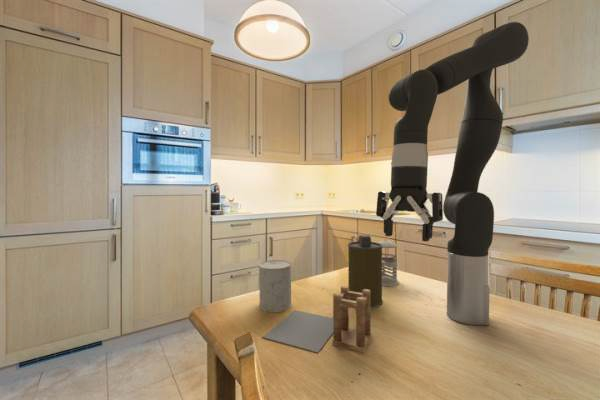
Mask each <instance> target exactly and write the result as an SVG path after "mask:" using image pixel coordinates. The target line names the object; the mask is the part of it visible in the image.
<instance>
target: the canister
mask: <svg viewBox="0 0 600 400" xmlns="http://www.w3.org/2000/svg"><path fill="white" fill-rule="evenodd" d="M347 247H348V271H347V273H348V274H347V275H348V285H347V287H348V291H353V292H359V293H362V290H364V289H368V290H370V308H375V307H379V306H380V305H382V304H383V302H384V301H383V297H382V295H383V286H382V271H383V270H382V262H383V260H382V254H383V248H382V247H383V245H382V244H380V243H377V242H376V241H372V237H371V236H370V235H369V234H359V235H358V240H357V241H352V242H348V243H347ZM348 300H353V301H356V299H354V298H348Z"/></svg>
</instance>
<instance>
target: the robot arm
mask: <svg viewBox="0 0 600 400" xmlns="http://www.w3.org/2000/svg"><path fill="white" fill-rule="evenodd" d="M529 40H530V39H529V33H528V29H527V28H526V26H525V25H524V24H523V23H521V22H518V21H511V22H508V23H505V24H502V25H500V26H498V27H496V28H493V29H492V30H489V31H487V32H484V33H482V34H481V35H479V36H478V37H476V39H475V40H474V41H473V42H472V44H471V47H468V48H466V49H465V48H464V49H463V50H461V51H458V52H455V53H453V54H450V55H449V56H446V57H444V58H442V59H439V60H437V61H435V62H434V63H432V64H430V65H429V66H427V67H425V68H424V69H419V70H416V71H414V72H412V73H410V74H408V75H407V76H404V77H402V78H401V79H399V80H397V81H396V82H394V83H393V85H392V86H391V88H390V89H389V92H388V95H387V97H388V98H387V99H388V102H389V104H390V106H391V107H392V108H393V109H394V110H395V111H400V112H405V113H404V114H403V116H402V117H400V118H399V119H398V120H397V121H396V122H395V123H394V128H393V143H392V144H393V147H392V155H391V163H390V165H391V170H390V173H391V174H390V187H391V188H390V191H389V192H387V191H379V192H378V193H377V198H376V199H377V201H376V212H375V216H376V217H379V218H382V219H383V233H384V234H385V235H386V237H392V236H393V234H394V233H393V232H394V231H393V230H394V220H393V219H394V216H395V215H397V214H398V213H399V212H410V213H411V212H412V213H414V212H415V213H416V214H417V216H418V217H420V219H421V220H422V222H423V223H422V231H421V232H422V233H421V237H422V239H421V241H422V242H429V241H430V239H432V237H433V227H434V223H437V222H441V221H443V219H444V217H445V218H446V220H447V221H448V222H450V223H451V224H452V225H453V224H454V233H453V237H452V238H451V239H449V240H448V241H447V245H446V246H447V248H446V249H447V254H446V256H447V257H446V258H447V259H446V260H447V263H446V264H447V266H446V269H447V270H446V272H447V273H446V315H447V316H448V317H449V319H452V320H453V321H456V322H458V323H461V324H465V325H470V326H480V325H481V326H483V325H484V326H490V286H489V249H490V247H491V245H492V243H493V238H494V237H493V236H494V224H495V208H494V204H493V202H492V200H491V199H490V197H489V196H488V195H486V194H485V193H482V192H480V191H479V192H478V190H479V185H480V180H481V176H482V173H483V172H484V169H486V166H487V164H488V163H489V161H490V160H491V158H492V157H493V155H494V153H495V151H496V150H497V147H498V146H499V145H498V144H499V142H500V138H501V133H502V128H503V122H504V115H503V111H502V109H501V107H500V104H499V103H498V101H497V99H496V98H495V97H494V94H493V92H492V90H491V77H492V73H493V70H494V69H497V68H500V67H502V66H503V67H504V66H505V65H508V64H510V63H513V62H515V61H517V60H519V59H520V58H521V57H522V56H523V55H524V54H525V53H526V50H527V49H528V45H529ZM466 81H467V88H466V95H465V102H464V107H463V112H462V118H461V121H460V126H459V132H458V137H457V145H456V151H455V155H454V162H453V168H452V173H451V177H450V181H449V184H448V187H447V191H446V194H445V197H444V200H443V193H441V192H432V193H428V191H427V186H428V185H427V184H428V164H429V152H428V151H429V150H428V134H429V133H428V132H429V131H428V130H429V124H430V122H431V119H432V118H431V117H432V115H433V112H434V108H435V104H436V102H437V98H438V95H441V94H443V93H446V92H448V91H450V90H451V89H454V88H455V87H457V86H459V85H461V84H462V83H464V82H466ZM389 199H390V201H391V203H390V205H388V201H389ZM427 200H429V203H431V205H432V206H431V210H432V211H431V212H432V215H431V214H430V211H429V209H428V208H427V206H426V205H425V203H426V202H427ZM387 205H388V207H387Z"/></svg>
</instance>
